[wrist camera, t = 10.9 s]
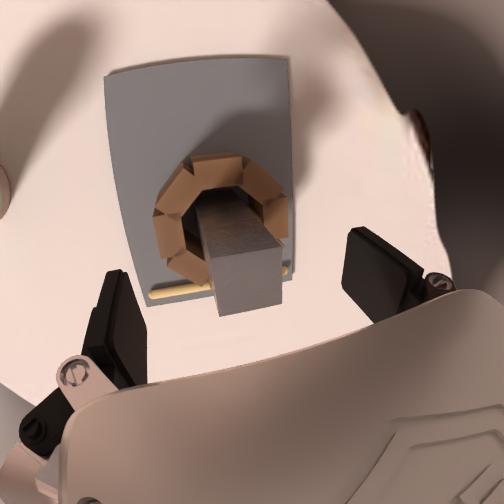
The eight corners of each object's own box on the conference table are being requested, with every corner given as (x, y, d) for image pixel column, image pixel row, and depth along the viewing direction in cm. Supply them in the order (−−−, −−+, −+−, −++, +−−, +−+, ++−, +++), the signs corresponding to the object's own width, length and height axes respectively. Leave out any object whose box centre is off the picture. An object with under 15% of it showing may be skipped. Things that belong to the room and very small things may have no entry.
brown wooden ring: (150, 162, 18) (144, 170, 15) (267, 148, 20) (287, 153, 17) (169, 268, 22) (170, 295, 19) (271, 251, 24) (288, 273, 21)
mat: (105, 78, 15) (100, 75, 14) (284, 60, 18) (290, 57, 17) (147, 303, 24) (146, 312, 23) (289, 276, 27) (295, 284, 26)
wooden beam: (193, 194, 20) (210, 258, 11) (231, 188, 21) (282, 246, 11) (198, 230, 22) (219, 316, 12) (234, 224, 22) (281, 303, 13)
